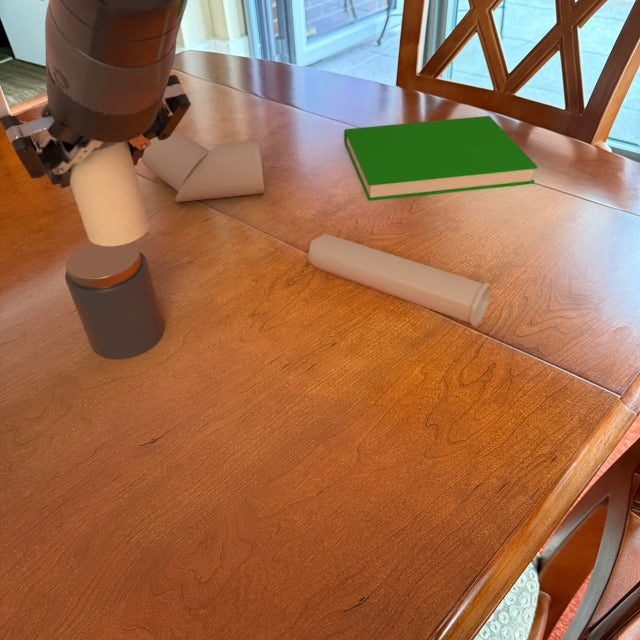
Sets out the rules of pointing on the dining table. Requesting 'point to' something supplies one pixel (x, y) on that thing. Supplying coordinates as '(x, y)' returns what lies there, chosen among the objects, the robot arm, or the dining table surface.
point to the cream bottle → (109, 195)
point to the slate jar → (115, 299)
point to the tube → (401, 278)
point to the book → (436, 157)
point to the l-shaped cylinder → (205, 167)
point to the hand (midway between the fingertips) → (94, 166)
